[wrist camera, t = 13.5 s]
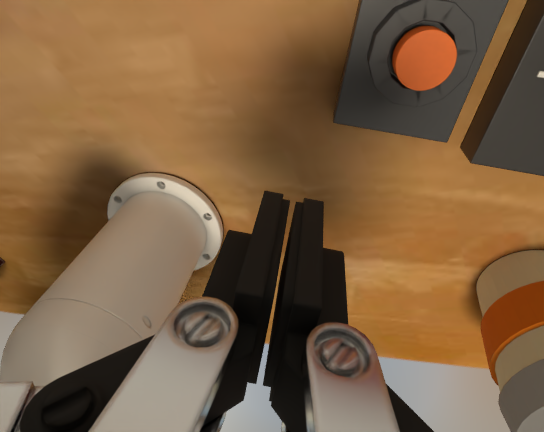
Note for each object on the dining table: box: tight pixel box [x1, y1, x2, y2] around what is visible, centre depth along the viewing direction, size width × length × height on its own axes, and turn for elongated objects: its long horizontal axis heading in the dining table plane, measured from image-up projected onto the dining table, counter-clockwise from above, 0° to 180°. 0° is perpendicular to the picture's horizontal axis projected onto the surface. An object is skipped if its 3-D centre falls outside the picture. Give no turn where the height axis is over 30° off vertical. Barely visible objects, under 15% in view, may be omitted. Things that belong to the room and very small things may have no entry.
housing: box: [333, 0, 508, 142], centre depth 26 cm, size 12×9×4 cm
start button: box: [392, 26, 457, 91], centre depth 23 cm, size 4×4×2 cm
